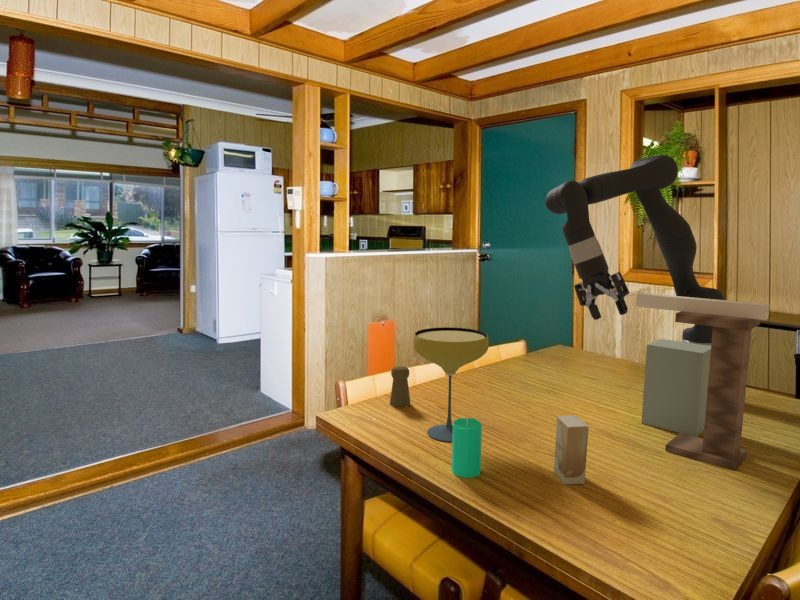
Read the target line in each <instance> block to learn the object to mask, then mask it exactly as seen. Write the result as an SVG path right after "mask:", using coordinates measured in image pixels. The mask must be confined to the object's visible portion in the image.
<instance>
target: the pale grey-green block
mask: <svg viewBox="0 0 800 600" xmlns="http://www.w3.org/2000/svg"><path fill="white" fill-rule="evenodd" d="M710 355H711V346H707V345H700V344H693V343H686V342H682V341H678V340H673V339H672V340H671V339H666V338H665V339H663V338H659V339H657V340H655V341H652V342H649V343H647V344H646V353H645V367H644V382H643V395H642V396H643V397H642V412H641V424H642V423H643V424H642V425H646V424H647V425H646V426H650V425H651V426H650V427H654V426H655V428H658V427H659V429H662V428H663V429H662V430H666V431H669V432H670V431H671V432H675V433H677V434H679V433H683V434H687V435H691V436H695V437H699V435H700V434H701V433H703V432H704V424H705V413H706V401H707V390H708V378H709V367H710Z"/></svg>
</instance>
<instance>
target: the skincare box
mask: <svg viewBox="0 0 800 600" xmlns="http://www.w3.org/2000/svg"><path fill="white" fill-rule="evenodd" d="M555 430H556V431H555V450H554V461H553V471H554V474H556V475H557V477H558V478H559V480H560V481H561V482H562V483H563V484H564V485H584V484H585V483H586V469H587V454H588V440H589V425H587V424H586V423H585V422H584V421H583V420H582V419H581V418H580V417H578V415H557V416H556V429H555Z"/></svg>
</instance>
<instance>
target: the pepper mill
mask: <svg viewBox="0 0 800 600" xmlns="http://www.w3.org/2000/svg"><path fill="white" fill-rule="evenodd" d="M390 373H391V374H390V376H391V377H392V384H391V392H390V400H389V405H392V406H395V407H394V408H397V407H403V408H406V407H405V406H408V407H410V406H411V405H410V403H411V395H410V389H409V388H410V387H409V381H408V379H409V377H410V370H409V367H407V366H403V365H397V366H394V367H393V368H391V371H390ZM409 405H410V406H409ZM392 406H391V407H392Z"/></svg>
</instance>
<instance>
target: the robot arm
mask: <svg viewBox="0 0 800 600" xmlns="http://www.w3.org/2000/svg"><path fill="white" fill-rule="evenodd" d="M678 173H679V168H678V164H677V162H676V161H675V159H674V158H673V157H671V156H669V155H666V154H659V155H654V156H647V157H644V158H640V159H637V160H635V161H633V162H632V164H631V165H630V167H629V168H627V169H621V170H616V171H611V172H605V173H600V174H597V175H593V176H589V177H585V178H583V179H581V180H579V181H577V180H572V179H571V180H567V181H565V182H563V183H561V184H559V185H557V186H555V187H554V188H552V189H550V190H549V192H547V194H546V197H545V200H544V203H545V207H546V208H547V210H548V211H549V212H550V213H553V214H555V215H563V214H566V216H567V219H566V220H567V221H566V222H564V223H563V225H562V228H561V229H562V233H563V236H564V239H565V242H566V244H567V246H568V250H569V254H570V257H571V260H572V263H573V265H574V268H575V271H576V272H577V275H578V278H579V280H582V282H579V283H577V284H574V286H573V287H574V291H575V293H576V296H577V299H578V302H579V305H580V306H581V307H583V306H584V307H585V306H586V307H587V308H588V310H589V313H590V315H591V318H592V319H593V320H595V321H597V320H599V319H601V318H602V315H601V312H600V309H599V307H598V304H596V301H597V298H598V296H602V295H605V296H608V297H610V298H612V300H614V303H615V306H616V308H617V311H618V314H619V315H620V316H624V315H625V314H627V313H628V310H629V309H628V306H627V303H626V301H625V297H626V296H627V295H629V294H630V291H629V288H628V285H627V284H626V282H625V279H624V278H623V274H622V273H621V272H620V271H617V272H616V273H613V274H610V273H609V265H608V262H607V260H606V257H605V255H604V252H603V249H602V246H601V245H600V242H599V240H598V238H597V237H596V235H595V232H594V229H593V227H592V224H591V222H590V212H589V205H593V204H598V203H601V202H604V201H608V200H611V199H614V198H618V197H620V196H623V195H627V194H629V193H634V192H635V195H636V196H637V198H638V200H639V202H640V204H641V206H642V208H643V210H644V211H645V214H646V216H647V218H648V221H649V223H650V225H651V228H652V231H653V232H654V233H653V234H654V236H655V238H656V243H657V245H658V246H659V250H660V252H661V254H662V256H663V258H664V261H665V264H666V267H667V269H668V270H667V271H668V273H669V275H670V277H671V281H672V284H673V287H674V289H673V290H674V293H675V296H681V297H693V298H704V299H715V300H725V296H724V294H723V292H722V291H720V290H719V289H717V288H713V287H706V286H701V285H700V284H699V282H698V281H697V277H696V275H695V272H694V261H695V257H696V254H697V248H698V247H697V246H698V245H697V242H696V239H695V235H694V234H693V231H692V228H691V226H690V223H688V221H687V220H686V219H685V218H684V217H683V216H682V215H681V214H680V213H679V212H678V211H677V210H676V209H674V207H672V206H671V205H670V204H669V203H668V201H666V199H665V197H664V196H663V195H664V194H663V193H662V191H661V190H662V189H663V190H664V189H665V188H668V187H670V186H672V185H673V183H675V181H676V180H677V177H678ZM712 332H713V326H705V325H696V324H693V326H692V327H687V328H685V329H683V331H682V334H681V342H686V343H693V344H700V345H707V346H711V344H712Z"/></svg>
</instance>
